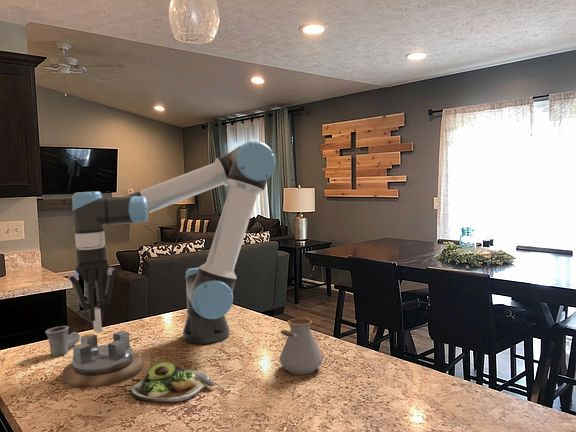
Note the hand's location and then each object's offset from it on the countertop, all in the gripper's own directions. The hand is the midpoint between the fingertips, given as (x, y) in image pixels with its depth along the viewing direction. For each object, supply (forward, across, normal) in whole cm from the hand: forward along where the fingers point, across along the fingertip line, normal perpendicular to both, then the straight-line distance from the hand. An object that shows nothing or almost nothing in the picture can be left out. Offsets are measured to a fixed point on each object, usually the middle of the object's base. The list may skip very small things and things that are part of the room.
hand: (98, 331), depth 128 cm
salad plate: (+11, -9, +27) cm, 30 cm away
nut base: (+10, +1, +6) cm, 11 cm away
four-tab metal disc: (+8, +1, +6) cm, 10 cm away
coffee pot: (+11, -36, +43) cm, 57 cm away
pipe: (+10, +5, -20) cm, 23 cm away
